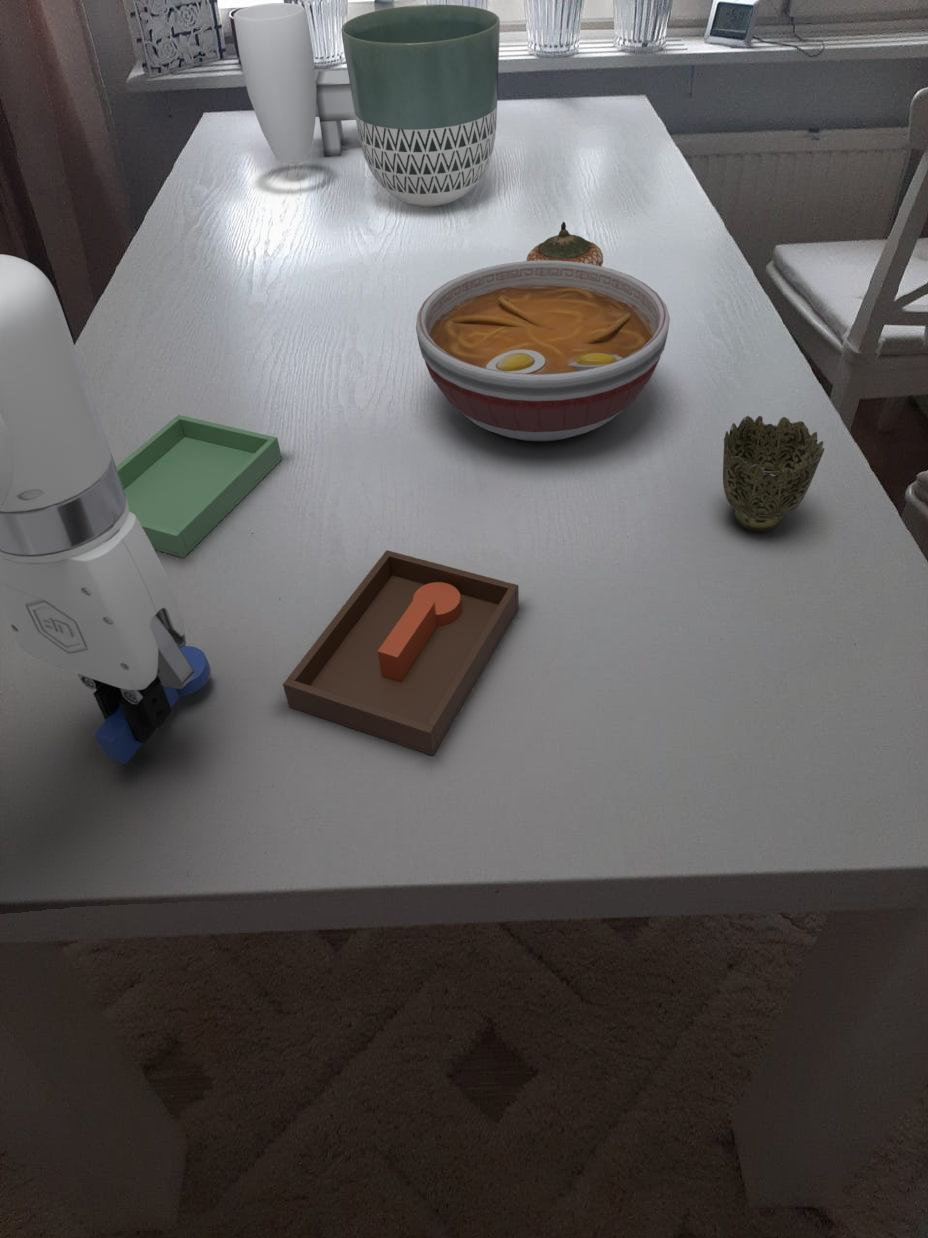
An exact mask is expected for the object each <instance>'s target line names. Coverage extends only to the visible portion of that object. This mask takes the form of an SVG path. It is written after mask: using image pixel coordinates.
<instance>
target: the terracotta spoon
mask: <svg viewBox="0 0 928 1238" xmlns="http://www.w3.org/2000/svg"><path fill="white" fill-rule="evenodd" d="M460 612H461V596H460V593H459V591H458V590H457V589H456V588H455V587H454V586H452V585H450V584H448V583H443V582H434V583H429V584H426V585H424V586H422V587H420V588H419V589H418V590H417V591H416V592H415V594H414V596H413V601H412V603H411V604H410V606H409V607H408V608H407V610H406V611H405V613H404V614H403V615H402V617H401V618H400V620H399V621H398V623H397V624H396V625H395V627H394V628H393V630H392V631H391V633H390V634H389V635H388V637H387V638H386V640H385V641H384V643H383V644H382V645H381V647H380V648H379V650H378V657H379V663H380V669H381V675H382V676H384V677H387V678H390V679H393V680H397V681H400V682H401V681H402V679H403V678H404V676H405V675H406V673H407V672H408V670H409V669H410V667H411V666H412V664H413V663H414V661H415V660H416V658H417V657H418V655H419V654H420V652H421V650H422V649H423V647H424V646H425V644H426V643H427V641H428V640H429V638H430V637H431V635H432V634H433V632H434V631H435V629H436V628H437V626H440V625H445V624H448V623H450V622H452V621H454V620H455V619H456V618H457V617H458V616H459V614H460Z"/></svg>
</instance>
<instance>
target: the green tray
mask: <svg viewBox="0 0 928 1238" xmlns="http://www.w3.org/2000/svg"><path fill="white" fill-rule="evenodd" d="M282 460H283V457H282V453H281V449H280V443H279V438H278V437H277V436H272V435H267V434H263V433H259V432H255V431H251V430H246V429H242V428H237V427H233V426H229V425H225V424H221V423H215V422H211V421H207V420H203V419H198V418H194V417H190V416H187V415H186V416H185V415H181V414H177V415H176V416H175V417H174V418H173V419H171V420H170V421H169V422H168V423H167V424H166V425H164V426H163V427H162V428H161V429H159V430H158V431H157V432H156V433H155V434H154V435H152V436H151V437H150V438H149V439H148V440H146V441H145V442H144V443H143V444H141V445H140V446H139V447H138V448H137V449H135V451H133V452H132V453H130V455H129V456H127V457H126V458H125V459H124V460H123V461H122V462H120V463H119V464H118V465H116V469H117V472H118V475H119V478H120V481H121V483H122V486H123V489H124V492H125V494H126V497H127V500H128V505H129V511H130V512H131V513H133V514H134V515H135V516H136V518H137V519H138V521H139V523H140V524H141V526H142V528H143V530H144V531H145V533H146V535H147V537H148V539H149V541H150V542H151V544H152V546H153V548H154V550H155V551H159V552H161V553H165V554H169V555H172V556H175V557H179V558H182V559H185V558H186V557H187V556H188V555H189V554H190V553H191V552H192V551H193V550H194V549H195V548H196V547H197V546H198V545H199V544H200V543H201V542H202V540H204V539H205V538H206V537H207V535H209V534H210V533H211V531H213V530H214V528H216V526H218V525H219V523H220V522H222V520H224V519H225V517H226V516H228V514H229V513H230V512H231V511H233V510H234V508H235V507H236V506H238V504H239V503H241V501H243V499H244V498H245V497H246V496H247V495H248V494H249V493H250V492H251V491H252V490H253V489H255V487H256V486H257V485H258V484H259V483H260V482H261V481H262V480H263V479H264V478H265V477H266V476H268V474H269V473H270V472H271V471H272V470H273V469H274V468H275V467H276V466H277V465H278V464H279V463H280V462H281V461H282Z"/></svg>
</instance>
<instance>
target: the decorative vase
mask: <svg viewBox="0 0 928 1238" xmlns="http://www.w3.org/2000/svg"><path fill="white" fill-rule="evenodd" d="M763 419H764V418H763V416H762V415H758V416H757V417H756V419H755V420H754V419H753V417H751V416H750V415H746V416H745V417H743V418H742V419H741V421H740V422H739V424H738V425H737V424H736V423H735V422H733V423H732V424H731V426H730V429H729V432H728V430H726V431H725V433H724V437H723V458H722V485H723V491H724V495H725V497H726V498H725V499H726V500H727V502H728V503H729V505H730V506H731V507H732V508H733V509H734V516H735V519H736V521H737V523H738V524H739V526H741V527H742V528H744V529H746V530H748V531H751V532H757V533H763V532H764V533H765V532H768V531H771V530H773V529H774V528H775V527H777V526H778V524H779V523H780V521H781V520H782V518H783V517H785V516H787V515H789V514H790V513H793V511H795V510H796V509H797V507H799V506H800V505H801V503H802V501H803V500H804V498H805V497H806V494H807V492H808V490H809V488H810V487H811V484H812V481H813V478H814V476H815V474H816V471H817V469H818V466H819V464H820V461H821V459H822V457H823V454H824V453H825V447H823V446H824V440H821V441H819V443H818V440H819V439H818V432H817V431H815V432H813V433H812V434H810V431H809V427H807V425H806V424H805V422H804V421H802V420H799V421H796V422H791V420H790V419H789V418H787V417H785V416H782V417H781V418H780V419H779V421H778V423H777V424H772V423H768V424H767V423H765V422H764V420H763Z"/></svg>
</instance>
